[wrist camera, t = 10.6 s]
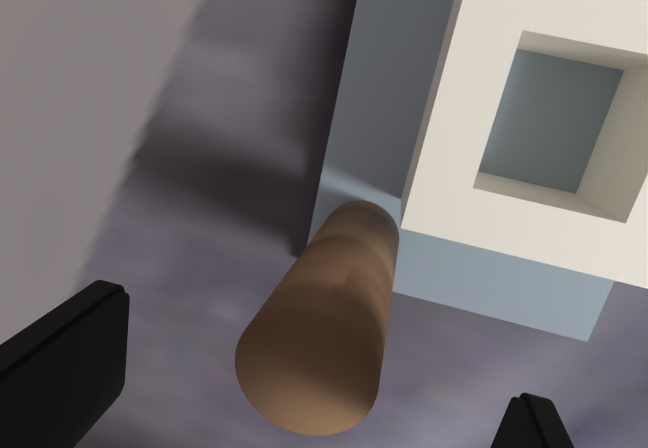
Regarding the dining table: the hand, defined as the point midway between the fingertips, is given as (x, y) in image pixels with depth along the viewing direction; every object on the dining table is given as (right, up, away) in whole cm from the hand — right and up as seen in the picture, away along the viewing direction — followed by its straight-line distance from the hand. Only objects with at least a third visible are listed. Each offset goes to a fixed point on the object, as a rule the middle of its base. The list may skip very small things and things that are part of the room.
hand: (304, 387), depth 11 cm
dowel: (+2, +3, +13) cm, 13 cm away
